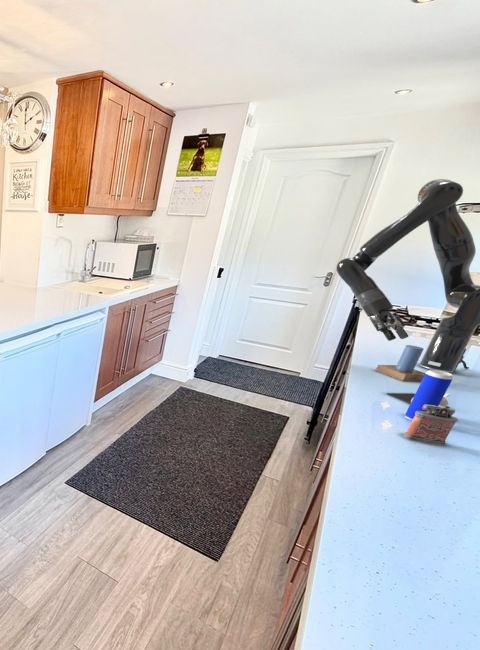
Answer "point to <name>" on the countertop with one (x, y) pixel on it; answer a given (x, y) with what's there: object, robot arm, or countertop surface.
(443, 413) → the lighter
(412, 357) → the post
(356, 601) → the countertop surface
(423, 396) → the beverage can
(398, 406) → the countertop surface
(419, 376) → the platform
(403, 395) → the mat
